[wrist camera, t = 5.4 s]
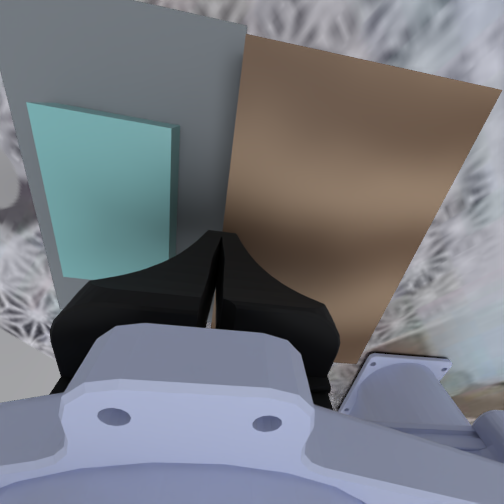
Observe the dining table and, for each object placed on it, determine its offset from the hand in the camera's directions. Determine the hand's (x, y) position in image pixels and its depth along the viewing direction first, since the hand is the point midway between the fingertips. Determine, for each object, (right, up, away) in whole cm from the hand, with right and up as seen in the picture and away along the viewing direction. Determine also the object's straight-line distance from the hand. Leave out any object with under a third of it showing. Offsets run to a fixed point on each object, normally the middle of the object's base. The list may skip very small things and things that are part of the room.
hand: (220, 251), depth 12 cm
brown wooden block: (+5, +2, +5) cm, 7 cm away
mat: (-6, +3, +4) cm, 7 cm away
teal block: (-6, +2, +2) cm, 6 cm away
